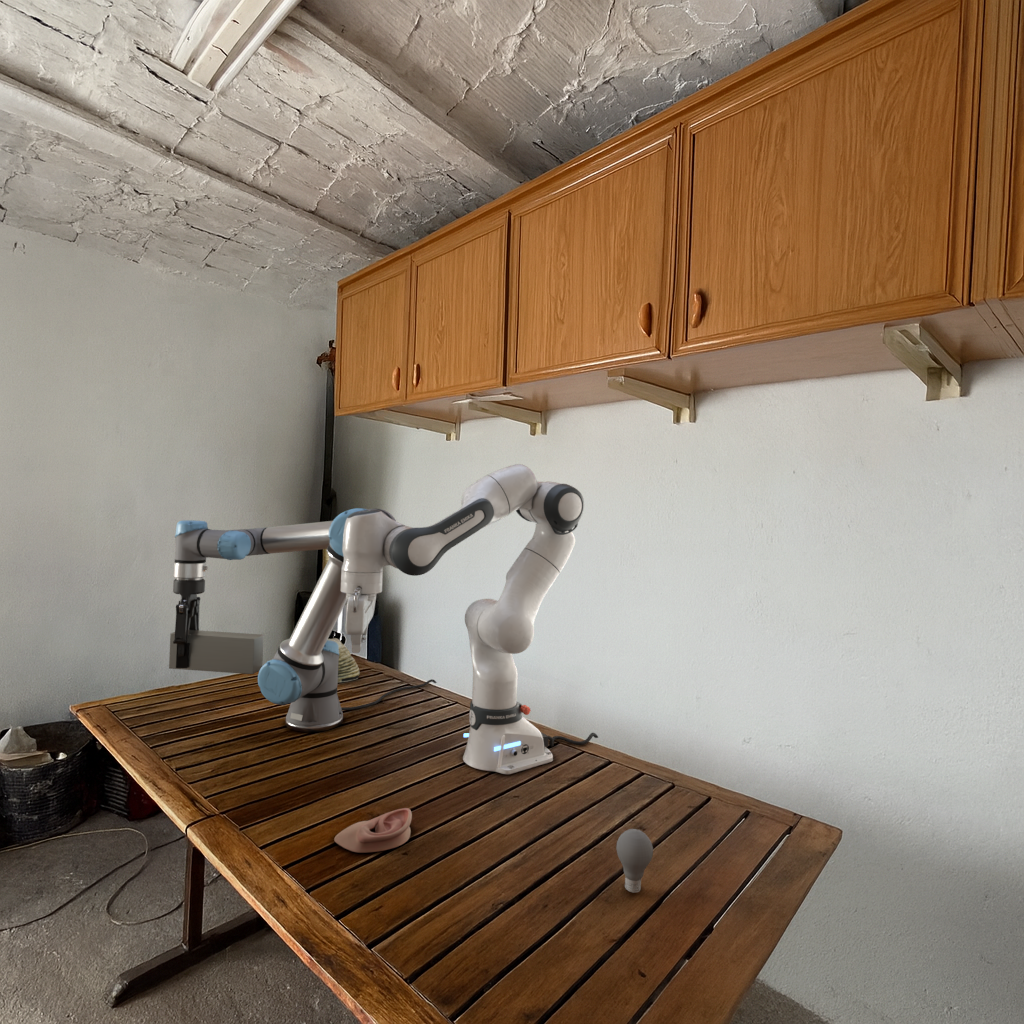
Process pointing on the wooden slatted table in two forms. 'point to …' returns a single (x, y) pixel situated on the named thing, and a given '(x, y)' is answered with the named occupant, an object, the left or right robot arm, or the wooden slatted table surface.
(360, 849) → the anatomical model
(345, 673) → the fossil
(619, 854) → the light bulb
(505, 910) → the wooden slatted table surface
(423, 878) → the wooden slatted table surface
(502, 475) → the right robot arm
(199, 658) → the bar
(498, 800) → the wooden slatted table surface
